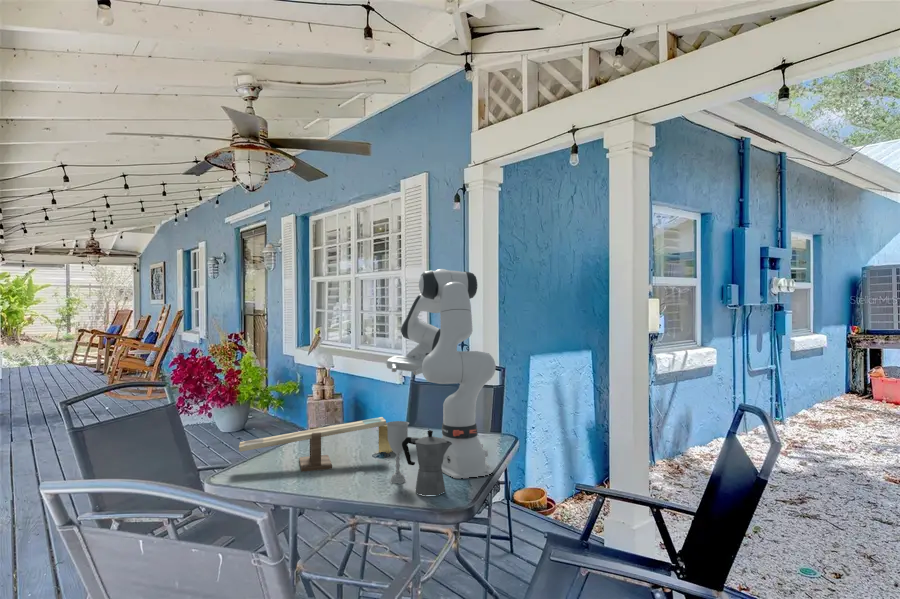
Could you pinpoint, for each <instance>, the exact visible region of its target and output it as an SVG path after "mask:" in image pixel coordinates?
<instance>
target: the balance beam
mask: <svg viewBox="0 0 900 599" xmlns="http://www.w3.org/2000/svg"><path fill="white" fill-rule="evenodd" d="M386 423H387V420H386V419H385V418H384V417H383V416H380V417H374V418H368V419H363V420H357V421H352V422H346V423H341V424H340V423H339V424H336V425H335V424H334V425H329V426H325V427H319V428H317V429H311V430H310V429H306V430H301V431H295V432H290V433H283V434H279V435H273V436H267V437H260V438H256V439H254V438H253V439H250V440H244V441H240V442H239V445H238V450H239V453H241V452H246V451H252V450H253V451H254V450H258V449H262V448H269V447H273V446H279V445H285V444H290V443H291V444H292V443H296V442H300V441H306V440H308V441H309V440H310V439H312V433H316V432H321V438H322V437H323V438H324V437H329V436H335V435H339V434H346V433H351V432H357V431H362V430H367V429H373V428H379V426H385V425H386Z"/></svg>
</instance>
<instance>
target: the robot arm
mask: <svg viewBox="0 0 900 599" xmlns="http://www.w3.org/2000/svg"><path fill="white" fill-rule="evenodd" d="M478 287H479V286H478V279H477V277H476V275H475V274H474V273H473V272H470V271H459V270H449V269H445V268H439V269H436V270H427V271H426V270H425V271H423V272H422V274H421V275H420V278H419V281H418V288H419V291H420V293H419V294H418V295H417V296H416V298H415V299H414V300H413V303H412V305H411V307H410V309H409V311H408V313H407V316H406V318H405V320H404V321H403V323H402V324H401V326H400V333H401V336H402V337H403V338H404V339H407V340H410V341H413V342H415V343H417V345H415V347H414V348H412V350H410V351H409V352H408V353H407V354H406V356H404V355H393V356H391V357H389V358H388V359H386V368H387V369H389V370H391V372H392V373H396V372H398V371H404V372H410V373H411V372H412V373H413V375H415V376H418V375H419V374H422V375H423V377H424V379H425V380H426V381H427V382H429V383H433V384H440V385H449V384H453V385H454V384H459V386H458V388H457V390H456V391H455V392H452V394H449V395H448V396H447V397H446V398H445V399H444V401H443V404H442V406H443V407H442V408H443V409H442V412H443V415H442V416H443V417H442V419H443V420H442V423H441V434H442V436H441V438H443V439H445V440H446V441H449V442H451V443H452V445H450V446H449V447H448V449H447V451H446V453H445V454H444V457H443V463H442V473H443V474H445V475H447V476H449V477H450V476H451V478H452V477H453V479H461V478H463V479H470V478H469V477H477V478H479V477H478V476H484V477H486V476H485V475H488V476H490V475H489V474H491V473H492V472H493V473H494V470H493V469H492V467H491V466H490V464H488V463H489V462H488V461H486V458H487V457H488V456H489V452H488V449H484V444H483V443H481V442H480V439H479V437H478V435H479V433H478V427H477V423H476V407H477V401H478V400H477V399H478V397H479V394H480V392H481V390H482V389H483V387H484V386H485V385H486V384H487V383H488V382H490V381H491V379H492V378H493V377H494V375H495V373H496V368H497V367H496V361H495V359H494V357H493V356H492V354H490V353H488V352H484V351H478V350H473V351H472V350H463V351H459V350H458V345H459V344H460V343H462V342H464V341H466V340H468V339H469V338H470V337H471V336H472V333H473V320H472V319H473V318H472V316H473V315H472V306H471V299H473V298H474V297H475V296H476V294H477V291H478ZM421 312H425V313H432V314H440V315H439V316H440V328H439V327H436V325H433V324H430V323H428V322H426V321H423V320H421V319H420V318H419V315H420V313H421ZM491 475H492V474H491Z"/></svg>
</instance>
